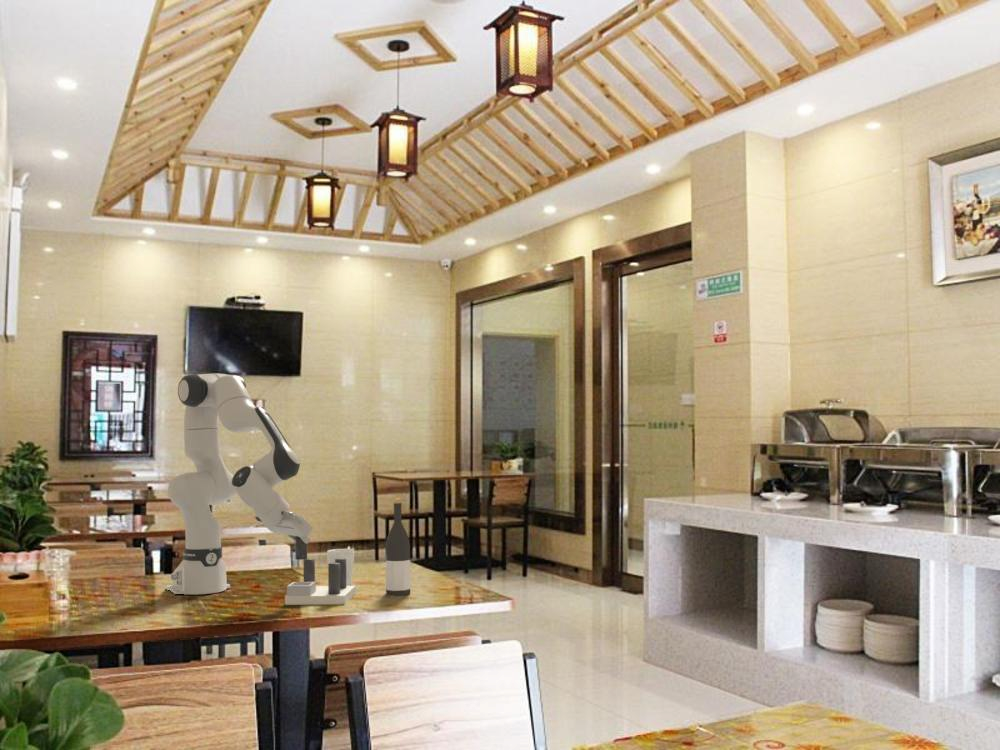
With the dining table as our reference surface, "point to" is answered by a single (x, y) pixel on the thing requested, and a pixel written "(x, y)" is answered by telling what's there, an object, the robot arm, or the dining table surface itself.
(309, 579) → the white board with pegs
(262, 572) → the dining table surface
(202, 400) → the robot arm
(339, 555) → the cup
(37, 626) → the dining table surface
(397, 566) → the wine bottle
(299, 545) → the dark rounded cylinder
